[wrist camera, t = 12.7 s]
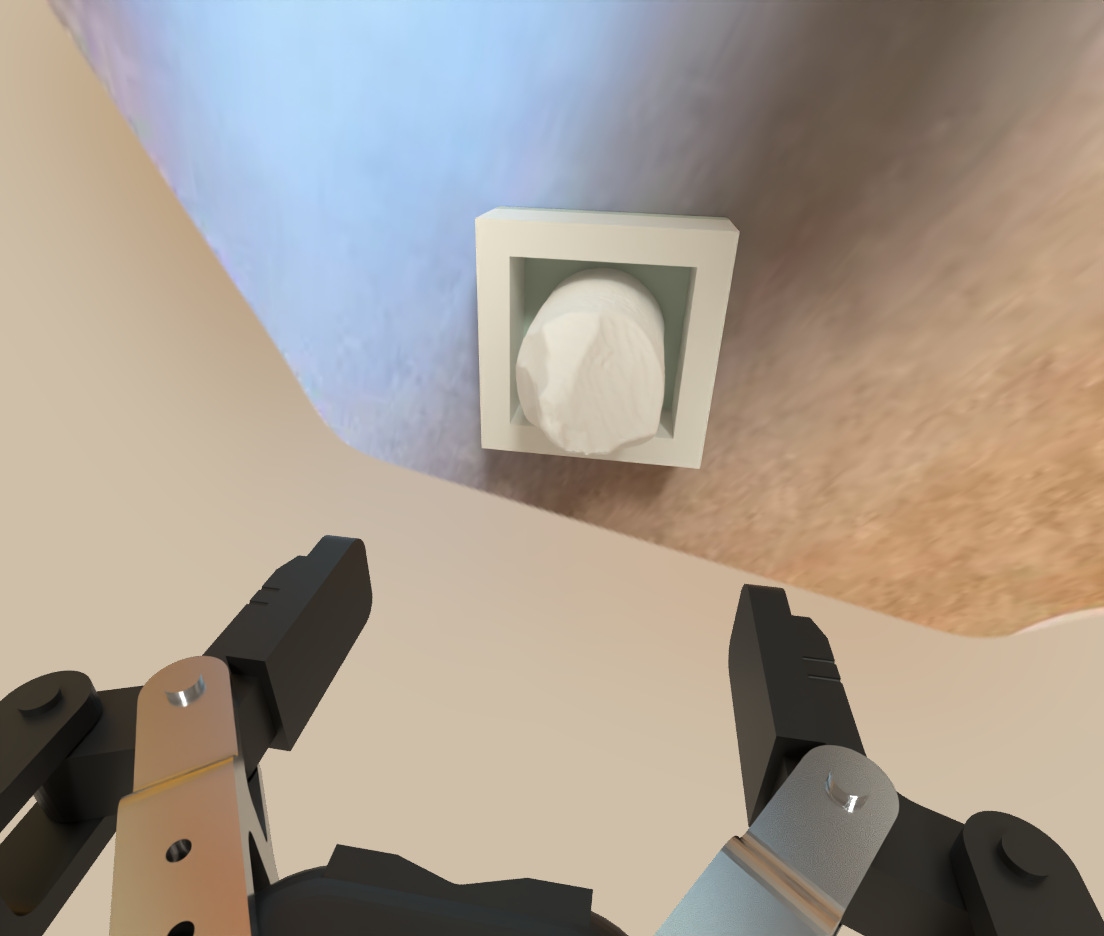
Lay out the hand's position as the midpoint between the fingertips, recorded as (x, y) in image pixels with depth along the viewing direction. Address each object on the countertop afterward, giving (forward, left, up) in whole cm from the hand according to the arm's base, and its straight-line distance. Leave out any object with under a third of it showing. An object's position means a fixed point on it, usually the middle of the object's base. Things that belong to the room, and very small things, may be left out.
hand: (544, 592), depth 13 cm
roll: (0, 0, -20) cm, 20 cm away
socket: (0, 0, -20) cm, 20 cm away
